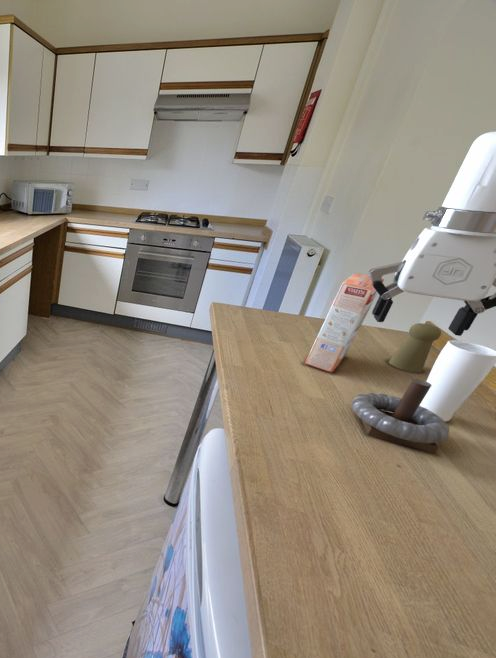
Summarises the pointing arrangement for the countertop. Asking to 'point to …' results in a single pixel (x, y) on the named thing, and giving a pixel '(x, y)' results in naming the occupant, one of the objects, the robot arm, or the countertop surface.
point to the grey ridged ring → (425, 432)
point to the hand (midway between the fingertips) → (414, 326)
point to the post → (406, 415)
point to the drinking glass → (456, 376)
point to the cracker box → (342, 322)
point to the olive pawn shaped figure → (415, 348)
